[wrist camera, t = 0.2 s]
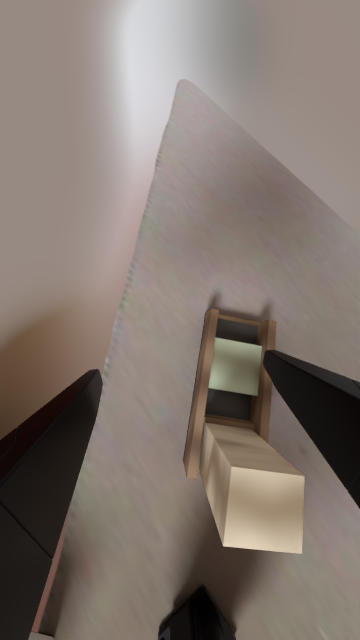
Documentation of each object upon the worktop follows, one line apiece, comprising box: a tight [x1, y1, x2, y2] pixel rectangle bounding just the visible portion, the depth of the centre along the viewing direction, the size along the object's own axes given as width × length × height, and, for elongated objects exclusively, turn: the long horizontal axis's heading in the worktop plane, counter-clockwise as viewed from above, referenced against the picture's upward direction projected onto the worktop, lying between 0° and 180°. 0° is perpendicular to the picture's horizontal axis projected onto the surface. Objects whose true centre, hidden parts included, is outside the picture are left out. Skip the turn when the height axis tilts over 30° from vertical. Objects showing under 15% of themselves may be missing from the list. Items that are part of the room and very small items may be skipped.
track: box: [183, 309, 276, 480], centre depth 22 cm, size 20×9×3 cm, turn 170°
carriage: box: [199, 423, 305, 554], centre depth 17 cm, size 5×6×8 cm
